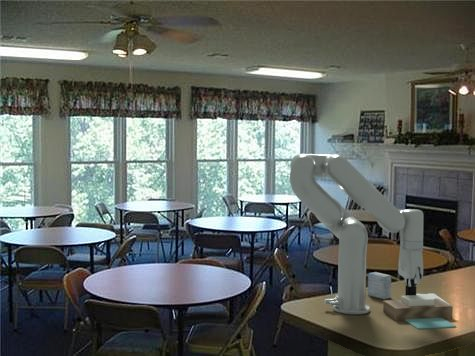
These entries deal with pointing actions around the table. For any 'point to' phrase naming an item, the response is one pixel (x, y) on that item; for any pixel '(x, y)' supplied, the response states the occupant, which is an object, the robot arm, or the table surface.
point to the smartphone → (433, 296)
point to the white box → (417, 300)
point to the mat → (430, 323)
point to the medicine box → (379, 285)
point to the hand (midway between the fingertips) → (410, 297)
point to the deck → (417, 310)
